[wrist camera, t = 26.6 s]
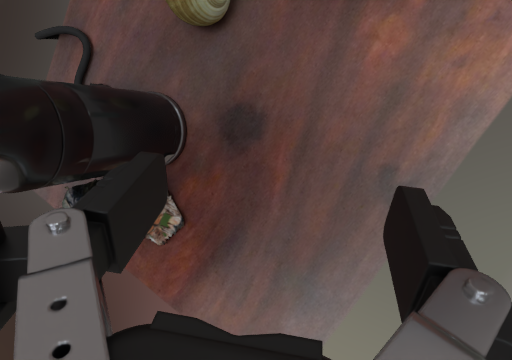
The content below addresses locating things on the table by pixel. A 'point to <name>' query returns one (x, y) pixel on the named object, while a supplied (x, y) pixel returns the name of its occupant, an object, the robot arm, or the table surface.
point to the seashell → (199, 10)
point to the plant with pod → (159, 230)
